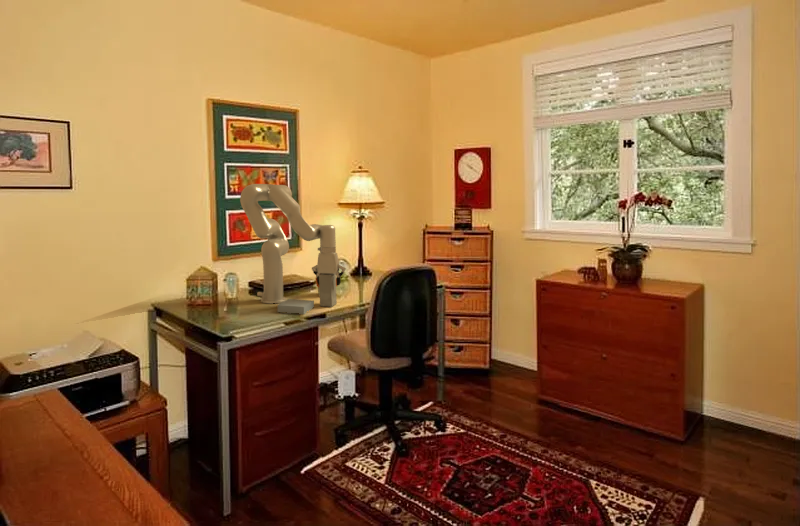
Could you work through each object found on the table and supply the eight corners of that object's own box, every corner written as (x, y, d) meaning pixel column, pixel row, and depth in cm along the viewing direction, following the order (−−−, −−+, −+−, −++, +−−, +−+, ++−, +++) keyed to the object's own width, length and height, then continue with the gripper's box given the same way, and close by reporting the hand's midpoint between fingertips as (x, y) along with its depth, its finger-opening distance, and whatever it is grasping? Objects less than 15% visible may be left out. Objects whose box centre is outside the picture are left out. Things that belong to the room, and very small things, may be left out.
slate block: (277, 313, 255) (277, 305, 254) (288, 306, 267) (288, 298, 267) (303, 315, 252) (303, 307, 252) (313, 308, 265) (313, 300, 264)
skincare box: (332, 307, 266) (332, 275, 264) (318, 306, 268) (318, 274, 265) (337, 303, 275) (337, 272, 272) (323, 302, 276) (323, 271, 273)
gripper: (308, 250, 265) (309, 285, 267) (342, 251, 261) (343, 286, 264) (314, 248, 272) (315, 282, 275) (347, 249, 268) (347, 283, 271)
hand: (328, 284), depth 269 cm, fingers open, 9 cm apart
